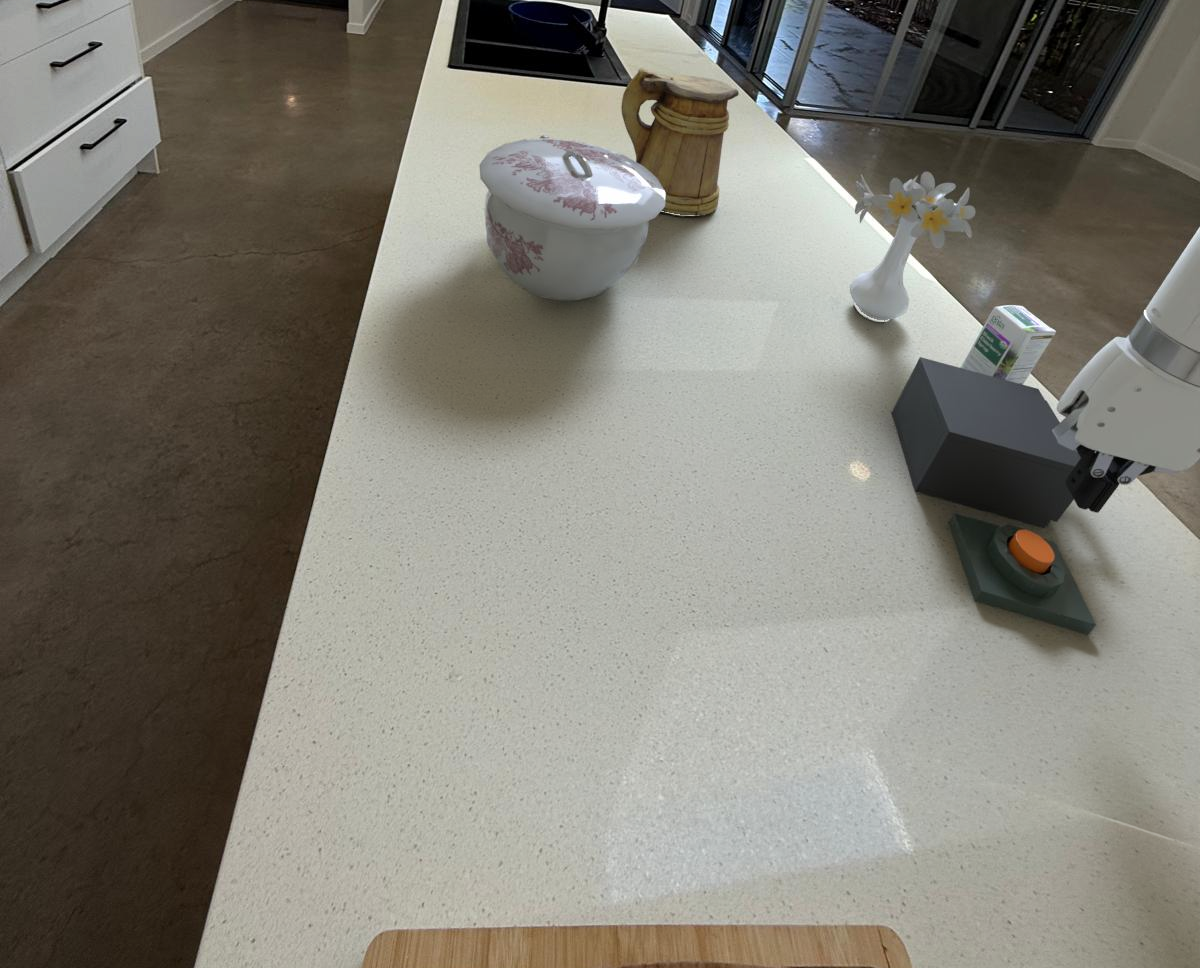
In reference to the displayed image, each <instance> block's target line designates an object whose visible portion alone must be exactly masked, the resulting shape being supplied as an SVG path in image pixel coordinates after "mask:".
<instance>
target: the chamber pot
mask: <svg viewBox="0 0 1200 968" xmlns="http://www.w3.org/2000/svg"><path fill="white" fill-rule="evenodd" d="M478 166H479V177H480V179H479V180H480V181H481V182H482V183H483V185H484V186H485V187H486V188H487V189H488V190H487V193H486V194H485V200H484V201H485V202H484V208H483V209H484V211H483V212H484V221H485V222H484V223H485V232H486V233H485V235H486V241H487V246H488V248H489V250H490V252H491V253H492V255H493V257H494V258H495V260H496V262H497V264H498V266H499V267H500V268H501V270H502V272H503V273H504V275H505V276H506V278H507V279H509V280H510V281H511V282H512V283H514V284H515V285H517V286H518V287H519V288H521V289H522V290H524V291H526V292H528V293H530V294H533V295H535V296H537V297H541V298H546V299H549V300H555V301H573V302H575V301H581V300H585V299H590V298H593V297H596V296H597V295H600V294H602V293H604V292H605V291H608V290H609V289H610V288H611V287H613V286H614V285H615V284H617V283H618V282H619V281H620V280H621V279H623V278H624V277H625V276H626V275H627V274H628V273H629V272H630V270H631V269H632V268H633V267H634V265H635V264H636V262H637V260H638V258H639V256H640V254H641V252H642V251H643V248H644V247H645V244H646V239H647V235H648V233H649V224H650V221H652V220H653V219H656V217H658V215H659V214H660V213H662V212H661V210H662V209H663V208H664V207H665V199H666V193H665V191H664V189H663V187H662V186H661V184H660V182H659V181H658V179H657V177H655V176H654V175H653V174H652V173H651V172H649V171H648V170H647V169H646V168H645V167H644V166H642V165H641V164H639V163H637V162H636V160H634V159H631V158H630V157H628V156H626V155H624V154H622V153H620V152H616V151H614V150H610V149H608V148H605V147H603V146H600V145H596V144H590V143H586V142H582V141H577V140H570V139H561V138H550V136H549V134H548V135H547V134H544V135H540V137H539V138H526V139H525V138H523V139H519V140H516V141H511V142H507V143H504V144H501V145H500V146H497V147H495V148H493V149H492V150H490V151H488V152H487V153H486V155H485V156H484V158H483V159H482V160H481V162H480V163H479V165H478Z"/></svg>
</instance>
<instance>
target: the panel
mask: <svg viewBox="0 0 1200 968" xmlns="http://www.w3.org/2000/svg"><path fill="white" fill-rule="evenodd" d="M947 524H948V527H949V529H950V532H951V536H952V538H953V542H954V545H955V547H956V551H957V553H958V556H959V560H960V562H961V565H962V568H963V571H964V574H965V577H966V580H967V583H968V586H969V589H970V592H971V594H972V597H973V600H974V602H976V603H980V604H982V605H986V606H989V607H993V608H996V609H999V610H1003V611H1006V612H1009V613H1012V614H1015V615H1016V614H1017V615H1019V616H1023V617H1026V618H1029V619H1033V620H1036V621H1039V622H1043V623H1047V624H1049V625H1052V626H1056V627H1059V628H1063V629H1067V630H1070V631H1073V632H1077V633H1080V634H1083V635H1087V636H1089V635H1090V634H1091V632H1093V630H1094V629H1095V628H1096V627H1097V623H1096V621H1095V619H1094V617H1093V615H1092V613H1091V610H1090V609H1089V606H1088V605H1087V603H1086V601H1085V599H1084V597H1083V594H1082V592H1081V590H1080V589H1079V587H1078V584H1077V582H1076V580H1075V578H1074V576H1073V574H1072V572H1071V570H1070V568H1069V566H1068V564H1067V561H1066V559H1065V558H1064V555H1063V554H1062V552H1061V550H1060V547H1059V546H1058V543H1057V542H1056V541H1053V540H1049V539H1047V538H1043V539H1044V540H1045V541H1046V542H1047V543H1048V544H1049V546H1050V547H1051V548H1052V550H1053V552H1054V556H1055V558H1054V561H1053V562H1052V564H1051V565H1050V566H1049V567H1048V569H1047V570H1046V571H1045V572H1044V573H1034V572H1031V571H1030V570H1028V569H1027V568H1025V567H1024V566H1022V565H1021V564H1019V562H1018V561H1017V560H1016V559H1015V558H1014V557H1013V556H1012V555H1011V553H1010V551H1009V547H1008V545H1009V542H1010V541H1011V539H1012V538H1013V536H1014V535H1015V534H1016V532H1017V531H1018V530H1026V529H1025V528H1023V527H1019V526H1016V525H1013V524H1009V523H1008V524H1003V525H998V524H995V523H991V522H988V521H985V520H981V519H977V518H973V517H971V516H967V515H963V514H961V513H960V514H959V513H957V512H953V513H952V515H951V517H950V518H949V520H948V522H947Z"/></svg>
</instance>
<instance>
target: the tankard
mask: <svg viewBox="0 0 1200 968" xmlns="http://www.w3.org/2000/svg"><path fill="white" fill-rule="evenodd" d="M637 71H638V72H637V74H635V75H634V76H633V77H632V78H631V80H629V82H628V83H627V86H626V88H625V90H624V92H623V94H622V99H621V116H622V119H623V123H624V126H625V130H626V131H627V135H628V136H629V138H630V140H631V143H632V145H633V149H634V153H635V162H637V163H639V164H641V165H642V166H644V167H645V168H646V169H647V170H648V171H649V172H651V173H652V174H653V175H654V176H655V177H657V179H658V181H659V182H660V184H661V186H662V187H663V189H664V191H665V193H666V199H665V207H664V208H663V209H662V210H661V211H664V212H669V213H674V214H680V215H700V216H706V214H707V215H710V214H712V213H713V212H715V210H716V209H717V208H718V205H719V199H720V187H719V184H718V181H719V175H720V174H719V173H720V165H721V159H722V158H721V157H722V148H723V144H724V143H723V142H724V134H725V132H726V131H727V130H728V129H729V120H730V112H729V110H728V103H729V101H730V100H732V99H734V98H736V97H738V96H739V93H740V92H739V90H738V88H737V87H735V86H732V85H730V84H728V83H726V82H724V81H721V80H717V79H713V78H708V77H702V76H696V75H695V76H694V75H685V74H684V75H683V74H673V75H668V74H667V75H665V74H659V73H657V72H655V71H650V70H648V69H645V68H639V69H638V70H637ZM647 101H655V102H654V103H652V105H651V106H650V112H651V114H652V116H653V117H654V118H653V121H652V123H651V124H647V123H646V122H643V121H642V118H641V117H640V110H641V107H642V105H643V104H644V103H645V102H647ZM711 212H712V213H711ZM709 213H710V214H709Z"/></svg>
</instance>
